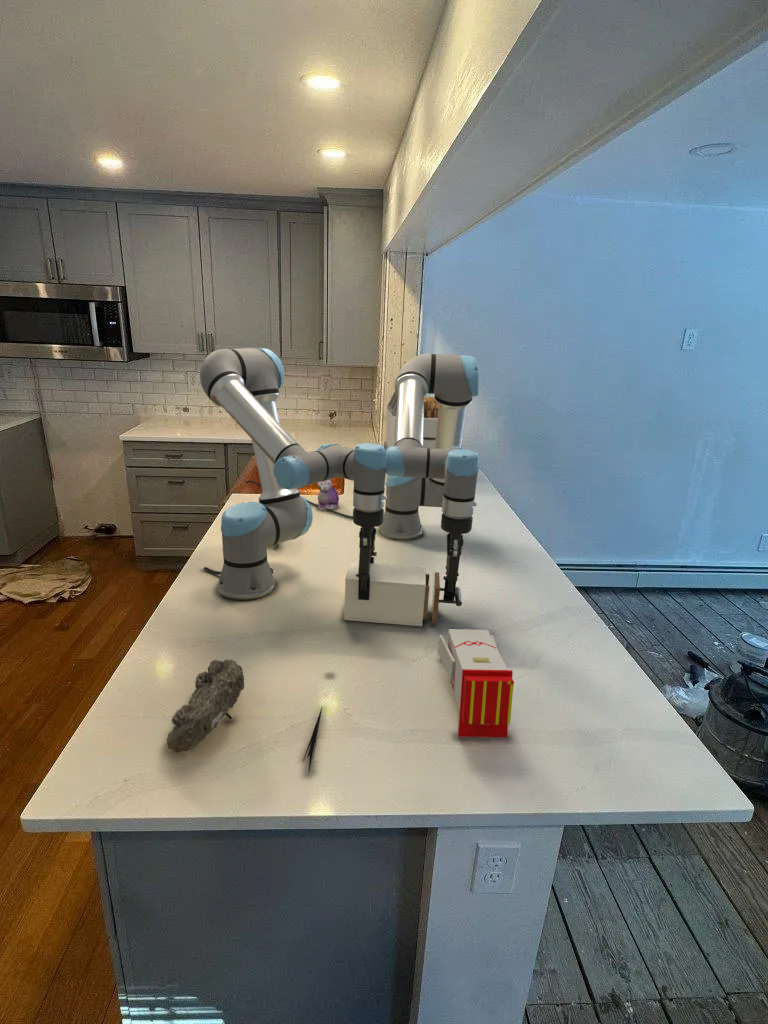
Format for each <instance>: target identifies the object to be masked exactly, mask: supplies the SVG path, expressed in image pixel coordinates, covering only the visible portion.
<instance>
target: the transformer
mask: <svg viewBox="0 0 768 1024" xmlns="http://www.w3.org/2000/svg"><path fill="white" fill-rule="evenodd" d="M397 399H398V396H397V394H396V392H395V391H394V392H393V394H392V395H391V398H390V400H389V402H388V404H387V405H386V413H385V414H386V415H385V423H386V428H385V438H384V442H383V447H384V448H385V450H386V449H387V448H388V447H391V446H394V442H395V428H396V413H397ZM438 406H439V403H437V402H436V400H435V398H434V396H425V397H424V421H423V448H430V449H434V448H435V438H436V427H437V417H438ZM464 429H465V427H464V428H463V433H464V431H465V430H464ZM463 438H464V435H463V436H462V439H463ZM463 442H464V441H463V440H462V444H461V447H462V448H463Z"/></svg>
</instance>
